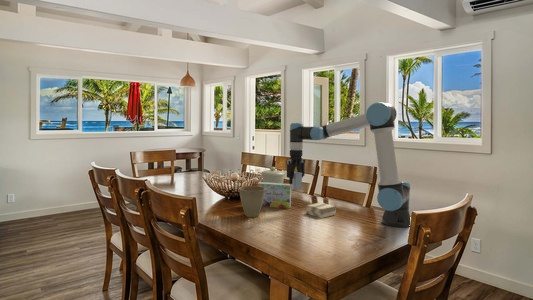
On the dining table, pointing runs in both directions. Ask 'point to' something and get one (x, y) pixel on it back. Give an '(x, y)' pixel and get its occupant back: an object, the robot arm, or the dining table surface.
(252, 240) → the dining table surface
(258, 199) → the plant pot
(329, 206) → the maple riser
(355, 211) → the dining table surface
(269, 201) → the snack box
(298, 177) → the slate-blue block
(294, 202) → the dining table surface
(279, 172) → the canister
